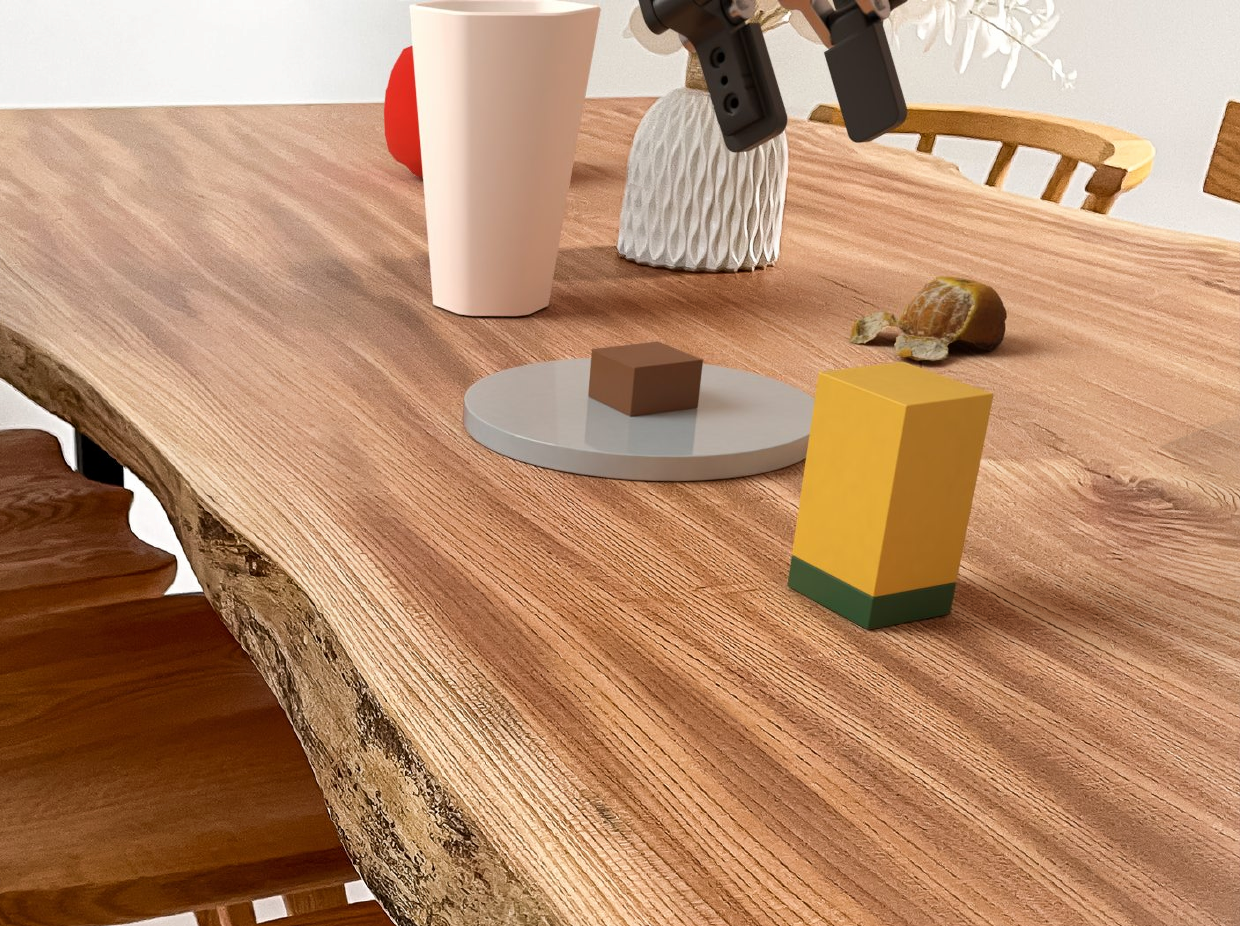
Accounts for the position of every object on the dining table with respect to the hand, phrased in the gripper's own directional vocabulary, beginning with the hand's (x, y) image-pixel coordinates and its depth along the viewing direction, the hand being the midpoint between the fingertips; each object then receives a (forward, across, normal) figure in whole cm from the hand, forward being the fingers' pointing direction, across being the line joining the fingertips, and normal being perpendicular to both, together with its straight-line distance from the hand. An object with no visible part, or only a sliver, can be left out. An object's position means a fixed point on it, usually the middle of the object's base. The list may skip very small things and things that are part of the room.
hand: (823, 138), depth 65 cm
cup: (-6, +28, +40) cm, 49 cm away
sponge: (+17, 0, +4) cm, 17 cm away
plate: (+6, +13, +21) cm, 25 cm away
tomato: (-25, +64, +68) cm, 96 cm away
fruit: (+6, +38, +19) cm, 43 cm away
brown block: (+5, +13, +20) cm, 24 cm away
